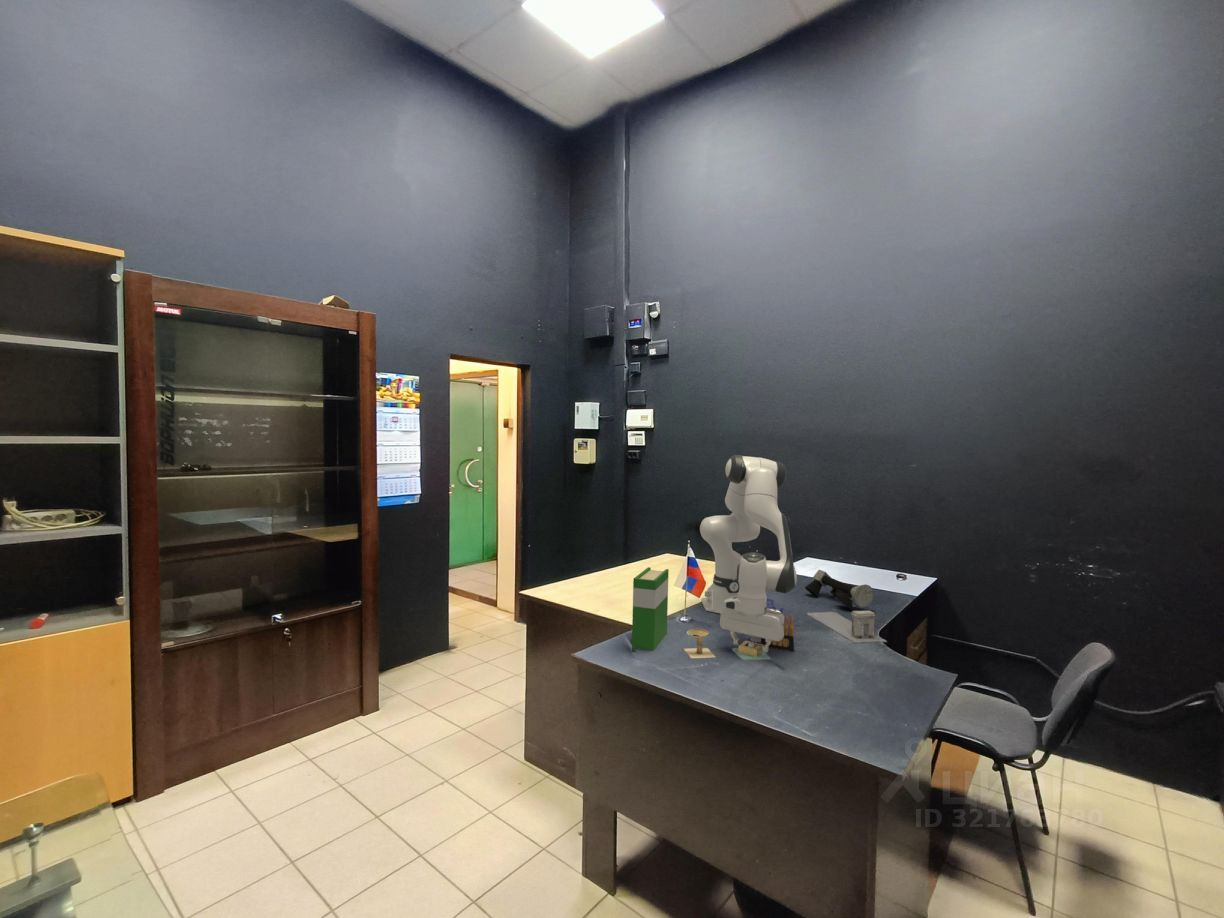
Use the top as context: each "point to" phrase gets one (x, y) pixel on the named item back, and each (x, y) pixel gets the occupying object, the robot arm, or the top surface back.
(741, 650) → the tan tray
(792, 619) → the ammunition clip
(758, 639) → the ink cartridge box
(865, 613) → the triumphal arch model
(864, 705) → the top surface
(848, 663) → the top surface
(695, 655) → the stand
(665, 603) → the hardback book
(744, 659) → the mint green base plate
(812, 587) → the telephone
